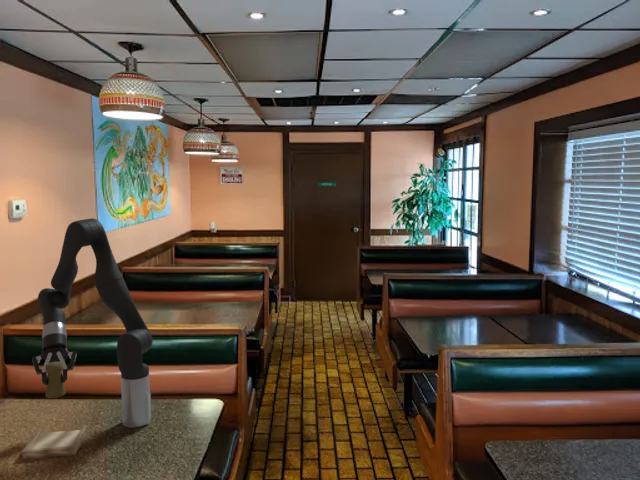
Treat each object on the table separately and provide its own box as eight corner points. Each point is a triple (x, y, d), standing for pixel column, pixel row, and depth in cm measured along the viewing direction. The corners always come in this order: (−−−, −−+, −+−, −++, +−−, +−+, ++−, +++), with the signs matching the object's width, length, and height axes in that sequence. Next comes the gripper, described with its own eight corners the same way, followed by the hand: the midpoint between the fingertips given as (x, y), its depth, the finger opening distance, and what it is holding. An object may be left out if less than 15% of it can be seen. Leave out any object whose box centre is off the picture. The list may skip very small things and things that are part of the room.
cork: (69, 391, 169) (68, 360, 168) (58, 398, 163) (56, 366, 162) (53, 390, 170) (51, 359, 169) (41, 397, 164) (39, 365, 163)
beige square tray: (87, 431, 168) (87, 424, 167) (75, 455, 153) (74, 447, 153) (39, 435, 165) (39, 428, 164) (21, 459, 150) (21, 451, 150)
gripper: (29, 335, 168) (28, 381, 158) (76, 329, 174) (78, 374, 165) (32, 345, 173) (31, 391, 164) (77, 340, 179) (79, 384, 170)
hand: (54, 382), depth 164 cm, fingers closed on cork, 4 cm apart
